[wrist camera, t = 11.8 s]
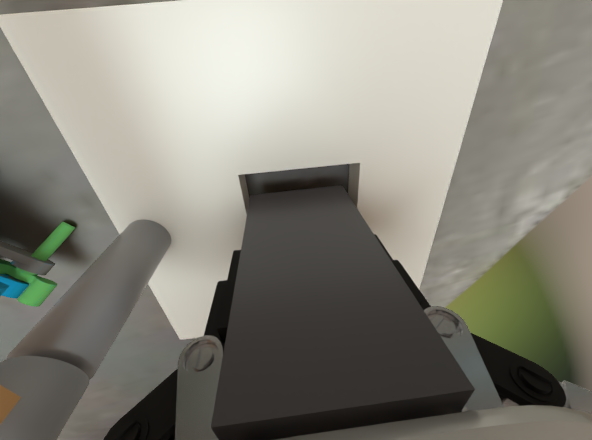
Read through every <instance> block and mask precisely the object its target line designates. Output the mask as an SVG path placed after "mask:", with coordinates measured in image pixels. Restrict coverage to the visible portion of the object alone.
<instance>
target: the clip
mask: <svg viewBox="0 0 592 440" xmlns="http://www.w3.org/2000/svg"><path fill="white" fill-rule="evenodd" d="M88 384H89V378H88V376H87V375H86V373H84V372H83V371H82V370H81V369H79V368H78V367H76V366H74V365H72V364H69V363H67V362H64V361H61V360H57V359H53V358H48V357H40V356H20V357H14V358H10V359H7V360H5V361H3V362H1V363H0V440H56V439H57V438H58V436H59V434H60V432H61V431H62V429H63V427H64V426H65V424H66V422H67V421H68V419H69V417H70V415H71V414H72V412H73V410H74V409H75V407H76V405H77V403H78V402H79V400H80V398H81V397H82V395H83V393H84V392H85V390H86V388H87V386H88Z"/></svg>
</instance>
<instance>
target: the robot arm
mask: <svg viewBox="0 0 592 440" xmlns="http://www.w3.org/2000/svg"><path fill="white" fill-rule="evenodd" d="M374 235H375V237H376V238H377V240H378V241H379V243H380V244H381V246H382V247H383V249H384V251H385V252H386V254H387V255H388V257H389V258H390V260H391V261H392V263H393V264H394V266H395V267H396V269H397V270H398V272H399V274H400V275H401V277H402V278H403V280H404V281H405V283H406V284H407V286H408V287H409V289H410V290H411V292H412V293H413V295H414V297H415V298H416V300H417V301H418V303H419V304H420V306H421V307H422V309H423V310H424V312H425V313H426V315H427V316H428V318H429V320H430V321H431V323H432V324H433V326H434V327H435V329H436V330H437V332H438V333H439V335H440V336H441V338H442V339H443V341H444V343H445V344H446V346H447V347H448V349H449V350H450V352H451V353H452V355H453V356H454V358H455V359H456V361H457V362H458V364H459V366H460V367H461V369H462V370H463V372H464V373H465V375H466V376H467V378H468V379H469V381H470V382H471V384H472V385H473V387H474V389H475V391H474V392H473V394H472V395H471V397H470V398H469V400H468V401H467V403H466V404H465V406H464V408H463V409H462V411H461V412H460V413H453V414H446V415H439V416H432V417H425V418H418V419H411V420H404V421H396V422H390V423H383V424H376V425H369V426H362V427H355V428H348V429H342V430H335V431H328V432H321V433H315V434H308V435H301V436H295V437H288V438H281V439H275V440H592V391H589V390H587V389H584V388H582V387H580V386H577V385H575V384H572V383H569V382H567V381H564V382H563V383H560V382H558V381H557V380H556V379H555V378H554V376H552V374H550V373H549V372H548V371H547V370H545V369H544V368H542V367H541V366H539V365H537V364H536V363H534V362H532V361H529V360H528V359H525V358H523V357H521V356H519V355H517V354H515V353H512V352H510V351H508V350H506V349H504V348H502V347H500V346H498V345H496V344H493V343H491V342H489V341H487V340H485V339H483V338H481V337H479V336H476V335H474V334H472V333H470V331H469V329H468V327H467V325H466V324H465V322H464V320H463V319H462V318H461V317H460V316H459V315H458V314H456V313H454V312H453V311H451V310H449V309H447V308H444V307H439V306H430V305H429V303H428V302H427V300H426V299H425V298H424V296H423V295H422V293H421V292H420V290H419V289H418V287H417V286H416V285H415V283H414V282H413V280H412V279H411V277H410V276H409V274H408V273H407V272H406V270H405V269H404V267H403V266H402V264H401V263H400V262H399V261H398V260H393V259H392V257H391V256H390V254H389V253H388V251H387V250H386V248H385V247H384V245H383V244H382V242H381V241H380V239H379V238H378V236H377V235H376V234H374ZM240 253H241V250H234V251H233V255H232V260H231V264H230V269H229V274H228V278H227V280H224V281H219V282H218V283H217V286H216V290H215V294H214V297H213V301H212V305H211V309H210V313H209V317H208V321H207V325H206V329H205V332H204V336H202V337H199V338H197V339H195V340H193V341H192V342H190V343H189V344H188V345H187V346H186V347H185V348H184V350H183V351H182V353H181V355H180V357H179V361H178V369H177V370H176V371H174V372H173V373H172V374H171V375H170V376H169V377H168V378H166V379H165V380H164V381H163V382H162V383H161V384H160V385H158V386H157V387H156V388H155V389H154V390H153V391H152V392H151V393H149V394H148V395H147V396H146V397H145V398H144V399H143V400H141V401H140V402H139V403H138V404H137V405H136V406H135V407H133V408H132V409H131V410H130V411H129V412H128V413H127V414H125V415H124V416H123V417H122V418H121V419H120V420H119V421H118V422H117V423H116V424H115V425H114V426H113V427H112V428H111V429H110V431H109V432H108V434H107V435H106V436H105V438H104V440H218V438H217V436H216V435H215V433H214V432H213V430H212V429H211V423H212V417H213V411H214V405H215V399H216V393H217V387H218V382H219V376H220V370H221V364H222V358H223V352H224V346H225V341H226V335H227V329H228V323H229V317H230V311H231V305H232V300H233V294H234V288H235V282H236V276H237V270H238V264H239V259H240Z"/></svg>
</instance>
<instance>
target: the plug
mask: <svg viewBox="0 0 592 440" xmlns="http://www.w3.org/2000/svg"><path fill="white" fill-rule="evenodd" d="M474 391H475V389H474V387H473V385H472V384H471V382H470V381H469V379H468V378H467V376H466V375H465V373H464V372H463V370H462V369H461V367H460V366H459V364H458V362H457V361H456V359H455V358H454V356H453V355H452V353H451V352H450V350H449V349H448V347H447V346H446V344H445V343H444V341H443V339H442V338H441V336H440V335H439V333H438V332H437V330H436V329H435V327H434V326H433V324H432V323H431V321H430V320H429V318H428V316H427V315H426V313H425V312H424V310H423V309H422V307H421V306H420V304H419V303H418V301H417V300H416V298H415V297H414V295H413V293H412V292H411V290H410V289H409V287H408V286H407V284H406V283H405V281H404V280H403V278H402V277H401V275H400V274H399V272H398V270H397V269H396V267H395V266H394V264H393V263H392V261H391V260H390V258H389V257H388V255H387V254H386V252H385V251H384V249H383V247H382V246H381V244H380V243H379V241H378V240H377V238H376V237H375V235H374V234H373V232H372V231H371V229H370V228H369V226H368V224H367V223H366V221H365V220H364V218H363V217H362V215H361V214H360V212H359V211H358V209H357V208H356V206H355V205H354V203H353V201H352V200H351V198H350V197H349V195H348V194H347V192H346V191H345V189H344V188H343V186H342V185H339V186H329V187H320V188H311V189H302V190H292V191H283V192H274V193H264V194H255V195H250V200H249V206H248V212H247V218H246V223H245V229H244V235H243V241H242V247H241V253H240V259H239V264H238V270H237V276H236V282H235V288H234V294H233V300H232V305H231V311H230V317H229V323H228V329H227V335H226V341H225V346H224V352H223V358H222V364H221V370H220V376H219V382H218V387H217V393H216V399H215V405H214V411H213V417H212V423H211V429H212V430H213V432H214V433H215V435H216V436H217V438H218V440H275V439H281V438H288V437H295V436H301V435H308V434H315V433H321V432H328V431H335V430H342V429H348V428H355V427H362V426H369V425H376V424H383V423H390V422H396V421H404V420H411V419H418V418H425V417H432V416H439V415H446V414H453V413H460V412H461V411H462V409H463V408H464V406H465V404H466V403H467V401H468V400H469V398H470V397H471V395H472V394H473V392H474Z"/></svg>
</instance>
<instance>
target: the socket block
mask: <svg viewBox="0 0 592 440" xmlns="http://www.w3.org/2000/svg"><path fill="white" fill-rule="evenodd" d="M502 2H503V0H182V1H169V2H156V3H144V4H131V5H118V6H105V7H92V8H79V9H67V10H54V11H41V12H28V13H15V14H2V15H0V27H1V29H2V31H3V32H4V34H5V36H6V38H7V39H8V41H9V43H10V45H11V46H12V48H13V50H14V52H15V53H16V55H17V57H18V58H19V60H20V62H21V64H22V65H23V67H24V69H25V71H26V72H27V74H28V76H29V78H30V79H31V81H32V83H33V85H34V86H35V88H36V90H37V92H38V93H39V95H40V97H41V98H42V100H43V102H44V104H45V105H46V107H47V109H48V111H49V112H50V114H51V116H52V118H53V119H54V121H55V123H56V125H57V126H58V128H59V130H60V132H61V133H62V135H63V137H64V138H65V140H66V142H67V144H68V145H69V147H70V149H71V151H72V152H73V154H74V156H75V158H76V159H77V161H78V163H79V165H80V166H81V168H82V170H83V172H84V173H85V175H86V177H87V178H88V180H89V182H90V184H91V185H92V187H93V189H94V191H95V192H96V194H97V196H98V198H99V199H100V201H101V203H102V205H103V206H104V208H105V210H106V212H107V213H108V215H109V217H110V218H111V220H112V222H113V224H114V225H115V227H116V229H117V231H118V232H119V234H120V235H119V236H118V237H117V238H116V239H115V240H114V241H113V243H112V244H111V245H110V246H109V247H108V248H107V249H106V250H105V251H104V252H103V253H102V254H101V255H100V257H99V258H98V259H97V260H96V261H95V262H94V263H93V264H92V265H91V266H90V267H89V268H88V269H87V270H86V272H85V273H84V274H83V275H82V276H81V277H80V278H79V279H78V280H77V281H76V282H75V283H74V284H73V286H72V287H71V288H70V289H69V290H68V291H67V292H66V293H65V294H64V295H63V296H62V297H61V298H60V299H59V301H58V302H57V303H56V304H55V305H54V306H53V307H52V308H51V309H50V310H49V311H48V312H47V313H46V315H45V316H44V317H43V318H42V319H41V320H40V321H39V322H38V323H37V324H36V325H35V326H34V327H33V329H32V330H31V331H30V332H29V333H28V334H27V335H26V336H25V337H24V338H23V339H22V340H21V341H20V342H19V344H18V345H17V346H16V347H15V348H14V349H13V350H12V351H11V352H10V353H9V354H8V356H7V359H10V358H14V357H20V356H40V357H48V358H53V359H57V360H61V361H64V362H67V363H69V364H72V365H74V366H76V367H78V368H79V369H81V370H82V371H83V372H84V373H86V375H87V376H88V378H89V380H90V379H91V378H92V377H93V376H94V374H95V373H96V371H97V369H98V368H99V366H100V364H101V362H102V361H103V359H104V357H105V356H106V354H107V352H108V350H109V349H110V347H111V345H112V344H113V342H114V340H115V339H116V337H117V335H118V333H119V332H120V330H121V328H122V327H123V325H124V323H125V321H126V320H127V318H128V316H129V315H130V313H131V311H132V310H133V308H134V306H135V304H136V303H137V301H138V299H139V298H140V296H141V294H142V292H143V291H144V289H145V287H146V286H147V284H148V285H149V286H150V288H151V290H152V292H153V293H154V295H155V297H156V298H157V300H158V302H159V304H160V305H161V307H162V309H163V311H164V312H165V314H166V316H167V318H168V319H169V321H170V323H171V325H172V326H173V328H174V330H175V332H176V333H177V335H178V337H179V338H180V340H182V339H190V338H199V337H202V336H204V332H205V329H206V325H207V321H208V317H209V313H210V309H211V305H212V301H213V297H214V294H215V290H216V286H217V283H218V282H219V281H224V280H227V278H228V274H229V269H230V264H231V260H232V255H233V251H234V250H241V247H242V241H243V235H244V229H245V223H246V218H247V212H248V206H249V200H250V199H249V194H248V189H247V184H246V179H245V174H253V173H262V172H272V171H282V170H292V169H302V168H312V167H322V166H332V165H342V164H349V183H348V195H349V197H350V198H351V200H352V201H353V203H354V205H355V206H356V208H357V209H358V211H359V212H360V214H361V215H362V217H363V218H364V220H365V221H366V223H367V224H368V226H369V228H370V229H371V231H372V232H373V234H376V235H377V236H378V238H379V239H380V241H381V242H382V244H383V245H384V247H385V248H386V250H387V251H388V253H389V254H390V256H391V257H392V259H393V260H398V261H399V262H400V263H401V264H402V266H403V267H404V269H405V270H406V272H407V273H408V274H409V276H410V277H411V279H412V280H413V282H414V283H415V285H416V286H417V287H418V289H419V288H420V285H421V281H422V278H423V274H424V271H425V267H426V264H427V261H428V257H429V254H430V250H431V247H432V243H433V240H434V236H435V233H436V230H437V226H438V223H439V219H440V216H441V212H442V209H443V205H444V202H445V198H446V195H447V192H448V188H449V185H450V181H451V178H452V174H453V171H454V167H455V164H456V161H457V157H458V154H459V150H460V147H461V143H462V140H463V136H464V133H465V130H466V126H467V123H468V119H469V116H470V112H471V109H472V105H473V102H474V99H475V95H476V92H477V88H478V85H479V81H480V78H481V74H482V71H483V68H484V64H485V61H486V57H487V54H488V50H489V47H490V43H491V40H492V37H493V33H494V30H495V26H496V23H497V19H498V16H499V12H500V9H501V6H502Z"/></svg>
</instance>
